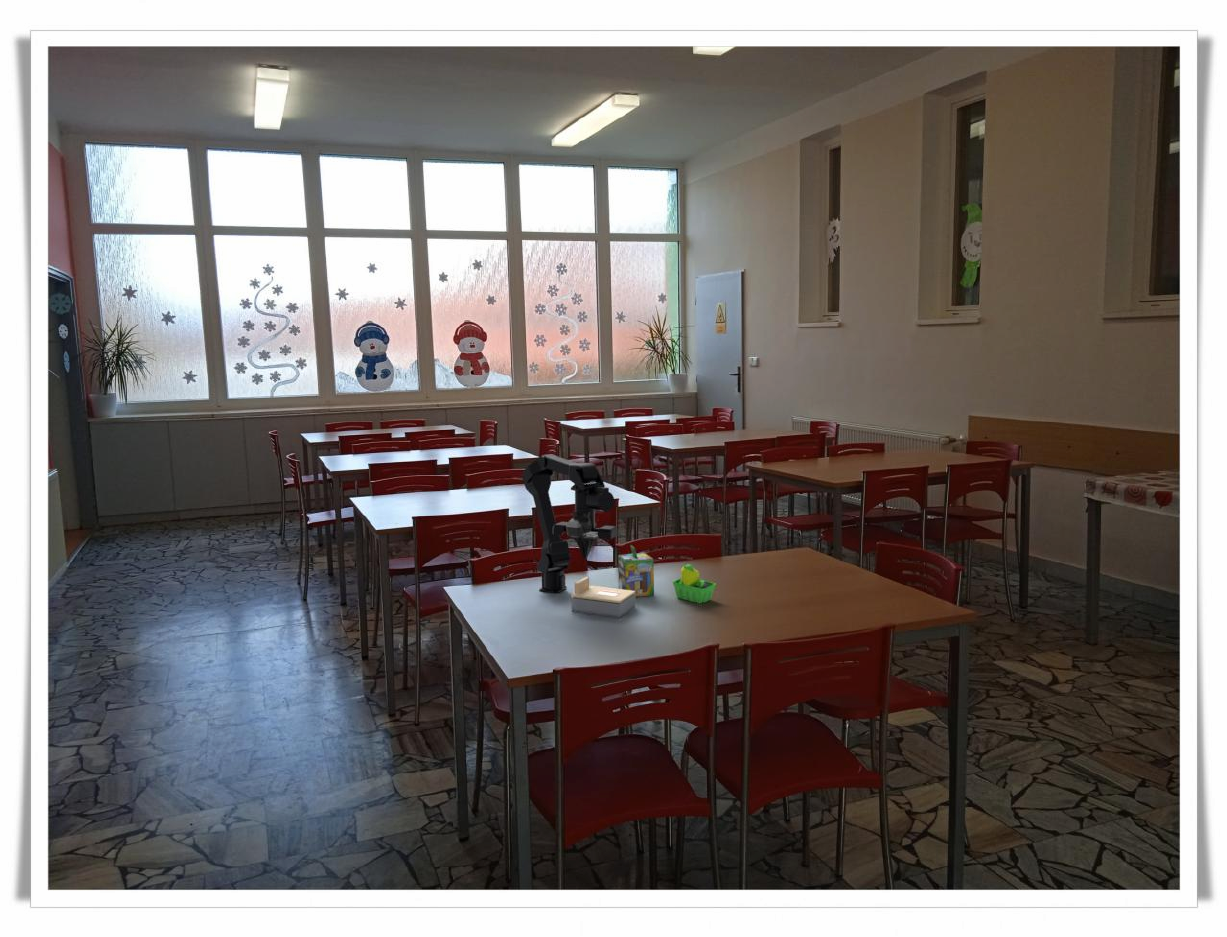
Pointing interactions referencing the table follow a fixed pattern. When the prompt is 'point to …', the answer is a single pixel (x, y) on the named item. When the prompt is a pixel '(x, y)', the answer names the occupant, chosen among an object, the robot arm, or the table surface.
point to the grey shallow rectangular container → (603, 607)
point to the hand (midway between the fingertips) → (585, 559)
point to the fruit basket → (693, 586)
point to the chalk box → (636, 573)
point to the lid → (600, 592)
